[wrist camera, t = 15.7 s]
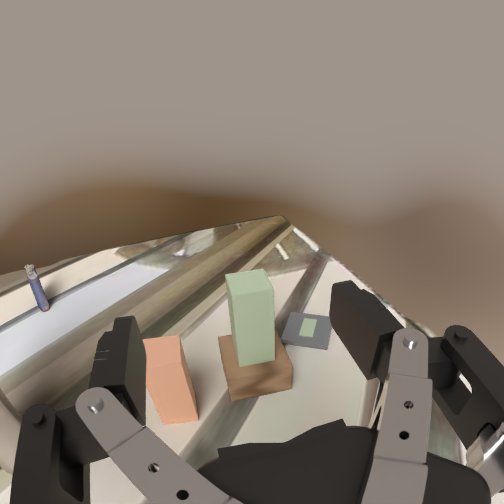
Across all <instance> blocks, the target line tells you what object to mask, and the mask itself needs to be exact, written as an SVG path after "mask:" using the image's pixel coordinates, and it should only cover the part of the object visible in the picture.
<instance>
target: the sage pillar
mask: <svg viewBox="0 0 504 504" xmlns="http://www.w3.org/2000/svg"><path fill="white" fill-rule="evenodd" d="M225 278H226V287H227V296H228V305H229V313H230V322H231V330H232V339H233V345H234V349H235V352H236V356H237V360H238V363H239V367H242V366H248V365H253V364H258V363H263V362H268V361H272V360H275V331H274V288H273V286H272V284H271V283H270V281H269V279H268V277H267V275H266V273H265V271H264V269H258V270H251V271H245V272H239V273H232V274H226V275H225Z"/></svg>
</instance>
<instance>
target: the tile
mask: <svg viewBox="0 0 504 504" xmlns="http://www.w3.org/2000/svg"><path fill="white" fill-rule="evenodd" d="M331 327H332V325H331V322H330V317H328V316H320V315H312V314H305V313H297V312H291V313H290V316H289V319H288V321H287V324H286V326H285V329H284V332H283V334H282V337H281V342H282V343H285V344H291V345H298V346H305V347H312V348H319V349H326V350H327V347H328V342H329V337H330V332H331Z"/></svg>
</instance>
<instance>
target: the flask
mask: <svg viewBox="0 0 504 504" xmlns="http://www.w3.org/2000/svg"><path fill="white" fill-rule="evenodd" d="M25 269H26V275H27V278H28V280H29V283H30V286H31V288H32V291H33V294H34V296H35V299H36V301H37V304H38V306H39V308H40V309H41V311H44V312H46V311H47V310H49V309H50V306H49V303H48V301H47V298H46V296H45V293H44V291H43V288H42V286H41V283H40V280H39V277H38V275H37V273H36V270H35V266H34V265H27V268H26V266H25Z"/></svg>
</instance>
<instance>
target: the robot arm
mask: <svg viewBox="0 0 504 504" xmlns="http://www.w3.org/2000/svg"><path fill="white" fill-rule="evenodd" d="M329 316H330V322H331V325H332V327H333V329H334V330H335V332H336V333H337V335H338V336H339V338H340V339H341V341H342V342H343V344H344V345H345V347H346V348H347V350H348V351H349V353H350V354H351V356H352V357H353V359H354V360H355V362H356V363H357V365H358V367H359V368H360V370H361V371H362V373H363V374H364V376H365V377H366V379H367V380H370V379H373V378H376V377H378V378H379V380H380V382H379V385H378V389H377V394H376V399H375V403H374V408H373V412H372V416H371V420H370V424H369V427H368V428H367V427H360V426H346V425H345V423H344V421H343V419H340V420H337V421H334V422H330V423H327V424H324V425H321V426H317V427H314V428H312V429H310V430H308V431H306V432H304V433H303V434H301V435H299V436H297V437H295V438H293V439H291V440H289V441H287V442H284V443H247V444H242V445H237V446H231V447H225V448H219V449H218V454H219V457H218V458H215V459H213V460H211V461H209V462H207V463H205V464H204V465H202V466H201V467H200V468H198V469H197V470H195V469H193V468H192V467H191V466H190V465H189V464H188V463H186V462H185V461H184V460H183V459H182V458H181V457H179V456H178V455H177V454H176V453H175V452H174V451H173V450H172V449H170V448H169V447H168V446H167V445H166V444H165V443H164V442H163V441H162V440H161V439H160V438H159V437H158V436H157V435H155V434H154V433H153V432H152V431H151V430H150V429H149V428H148V427H146V426H144V425H146V415H145V411H146V362H147V358H146V350H145V346H144V343H143V340H142V337H141V334H140V331H139V328H138V325H137V322H136V319H135V317H134V316H127V317H119V318H115V321H114V326H113V331H109V332H105V333H104V334H103V335H102V337H101V338H100V339H99V341H98V345H97V349H96V354H95V358H94V359H95V361H94V363H93V368H92V373H91V378H90V383H89V389H88V390H86V391H85V392H83V393H82V394H81V395H80V396H79V397H78V399H77V401H76V405H75V406H73V407H70V408H67V409H64V410H61V411H57V412H54V410H53V409H52V408H51V407H50V406H48V405H45V404H38V405H35V406H33V407H31V408H30V409H28V410H27V411H26V413H25V414H24V416H23V417H22V416H21V415H20V414H19V412H18V411H17V410H16V409H15V407H14V406H13V405H12V403H11V402H10V401H9V399H8V398H7V397H6V395H5V394H4V393H3V391H2V390H1V389H0V467H1V468H3V469H4V470H5V471H7V472H9V473H12V474H13V477H12V485H11V496H10V504H90V463H92V462H95V461H98V460H101V459H104V458H107V457H111V459H112V460H113V461H114V462H115V464H116V465H117V466H118V467H119V468H120V469H121V471H122V472H123V473H124V474H125V475H126V476H127V477H128V479H129V480H130V481H131V482H132V483H133V484H134V485H135V486H136V487H137V488H138V490H139V491H140V492H141V493H142V494H143V495H144V496H145V497H146V498H147V499H148V500H149V501H150V502H151V503H152V504H491V497H492V496H494V495H495V494H497V493H501V492H504V366H503V365H502V364H501V363H500V362H499V361H498V360H497V358H496V357H495V356H494V355H493V354H492V353H491V352H490V351H489V350H488V348H486V346H485V345H484V344H483V343H482V342H481V341H480V340H479V339H478V338H477V337H476V335H475V334H474V333H473V332H472V331H471V330H469V329H468V328H466V327H464V326H460V325H453V326H450V327H448V328H447V329H446V331H445V333H444V336H443V337H434V338H427V337H426V336H425V335H424V334H423V333H422V332H420V331H418V330H416V329H412V328H404V327H403V326H402V325H401V324H400V322H399V321H398V320H397V319H396V318H395V317H394V316H393V315H392V314H391V313H390V311H389V310H388V309H386V307H385V306H384V305H383V304H382V303H381V302H380V301H379V300H378V299H377V297H376V296H375V295H374V294H372V293H370V292H368V291H366V290H364V289H362V290H360V289H359V288H358V287H357V285H356V284H355V283H354V282H353V281H351V280H348V281H343V282H338V283H334V284H333V286H332V292H331V302H330V312H329ZM461 373H462V374H463V376H464V377H465V378H466V379H467V381H468V382H469V383H470V385H471V388H472V394H471V392H470V391H469V390H468V388H467V387H466V386H465V384H464V383H463V382H462V381H461V379H460V378H459V376H460V374H461ZM432 397H433V398H434V400H435V401H436V403H437V404H438V406H439V407H440V409H441V410H442V412H443V414H444V415H445V417H446V418H447V420H448V421H449V423H450V424H451V426H452V427H453V429H454V430H455V432H456V434H457V435H458V437H459V438H460V440H461V442H462V443H463V445H464V446H465V448H466V450H467V453H466V460H467V464H466V466H464V465H462V464H459V463H456V462H453V461H450V460H448V459H445V458H442V457H440V456H437V455H435V454H432V453H429V452H427V448H428V440H429V430H430V419H431V405H432ZM143 426H144V427H143Z"/></svg>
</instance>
